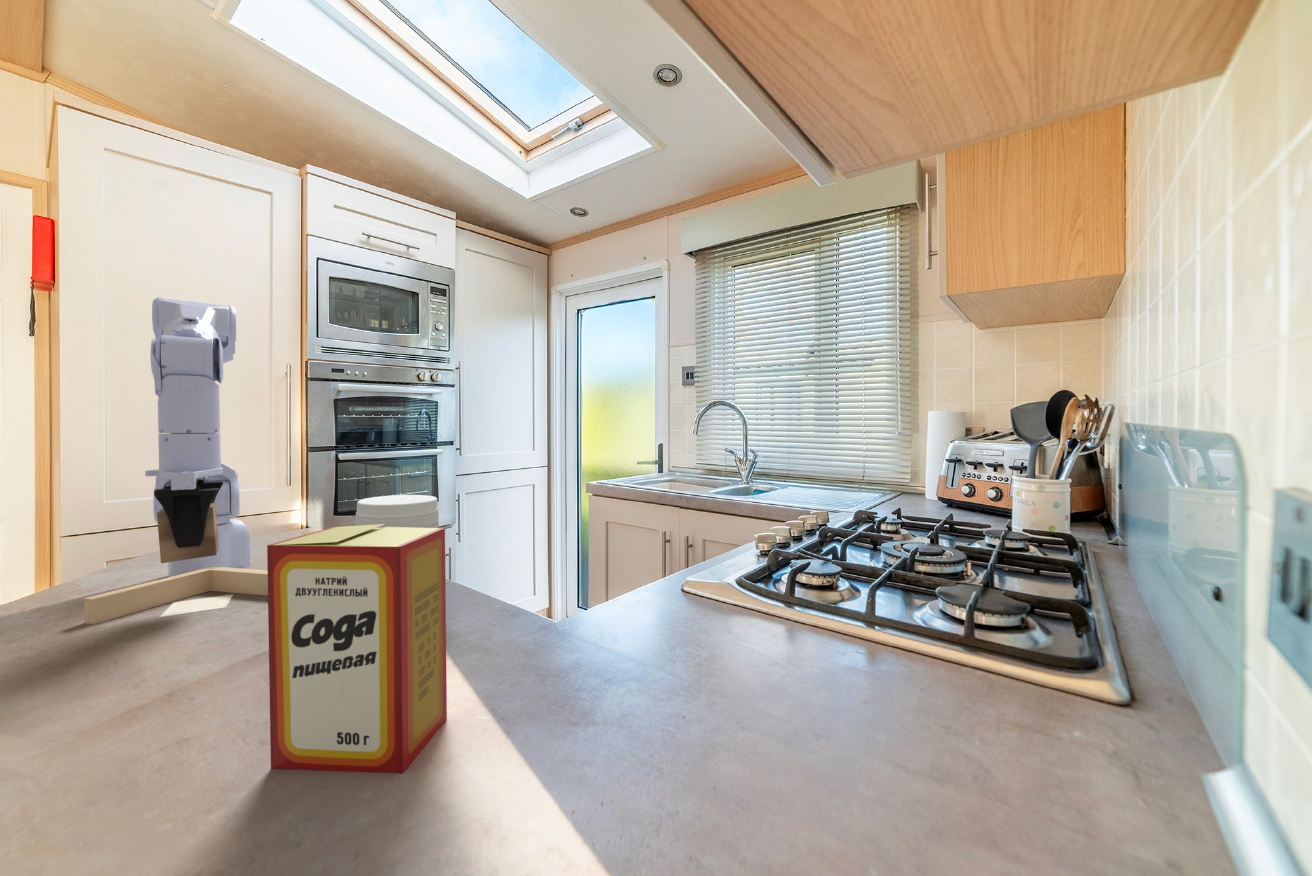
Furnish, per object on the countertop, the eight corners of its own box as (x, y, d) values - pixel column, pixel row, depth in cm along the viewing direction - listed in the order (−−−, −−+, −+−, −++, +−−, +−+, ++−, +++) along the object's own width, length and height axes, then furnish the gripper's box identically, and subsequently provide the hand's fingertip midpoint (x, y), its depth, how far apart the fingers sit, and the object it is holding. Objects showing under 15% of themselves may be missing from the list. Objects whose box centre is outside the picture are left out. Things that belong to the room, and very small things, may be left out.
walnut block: (218, 547, 68) (215, 502, 67) (216, 555, 64) (212, 507, 63) (166, 555, 65) (162, 507, 64) (160, 563, 61) (156, 513, 60)
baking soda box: (446, 719, 42) (444, 523, 41) (403, 773, 35) (400, 541, 35) (334, 716, 42) (331, 522, 42) (270, 768, 36) (267, 540, 35)
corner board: (213, 595, 73) (213, 566, 73) (324, 605, 69) (324, 574, 68) (84, 634, 59) (83, 598, 59) (212, 650, 55) (212, 611, 55)
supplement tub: (337, 621, 63) (335, 502, 63) (399, 597, 72) (398, 492, 72) (397, 631, 60) (395, 506, 60) (455, 605, 69) (454, 495, 68)
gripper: (156, 433, 67) (158, 536, 68) (132, 434, 56) (134, 559, 56) (226, 432, 72) (228, 529, 72) (217, 433, 60) (219, 549, 60)
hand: (192, 542), depth 64 cm, fingers closed on walnut block, 5 cm apart
